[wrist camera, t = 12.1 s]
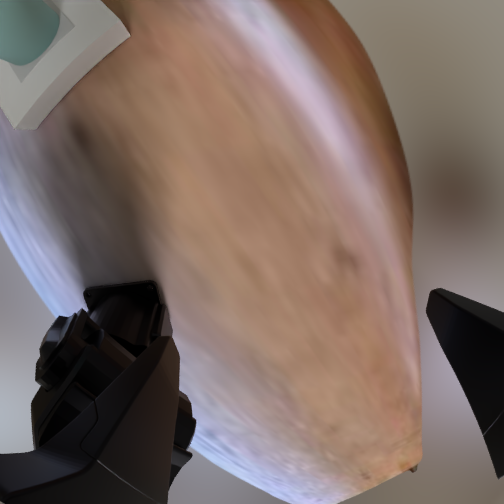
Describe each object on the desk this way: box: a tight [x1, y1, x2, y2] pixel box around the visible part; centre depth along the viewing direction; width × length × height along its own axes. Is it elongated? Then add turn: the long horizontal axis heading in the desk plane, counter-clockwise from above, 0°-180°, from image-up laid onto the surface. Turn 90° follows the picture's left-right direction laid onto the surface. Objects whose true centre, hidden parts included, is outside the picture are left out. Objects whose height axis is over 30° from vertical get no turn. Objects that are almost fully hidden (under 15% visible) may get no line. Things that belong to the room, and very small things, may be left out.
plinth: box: [0, 0, 131, 130], centre depth 11 cm, size 10×10×3 cm
